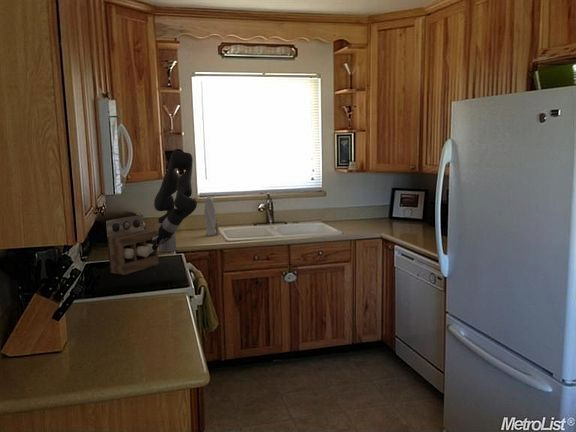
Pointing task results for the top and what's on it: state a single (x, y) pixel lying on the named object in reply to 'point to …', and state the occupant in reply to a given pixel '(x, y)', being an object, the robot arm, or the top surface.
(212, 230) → the skyscraper
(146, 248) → the button middle
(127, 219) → the brown toy oven
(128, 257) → the button left
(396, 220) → the top surface
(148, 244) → the button right
